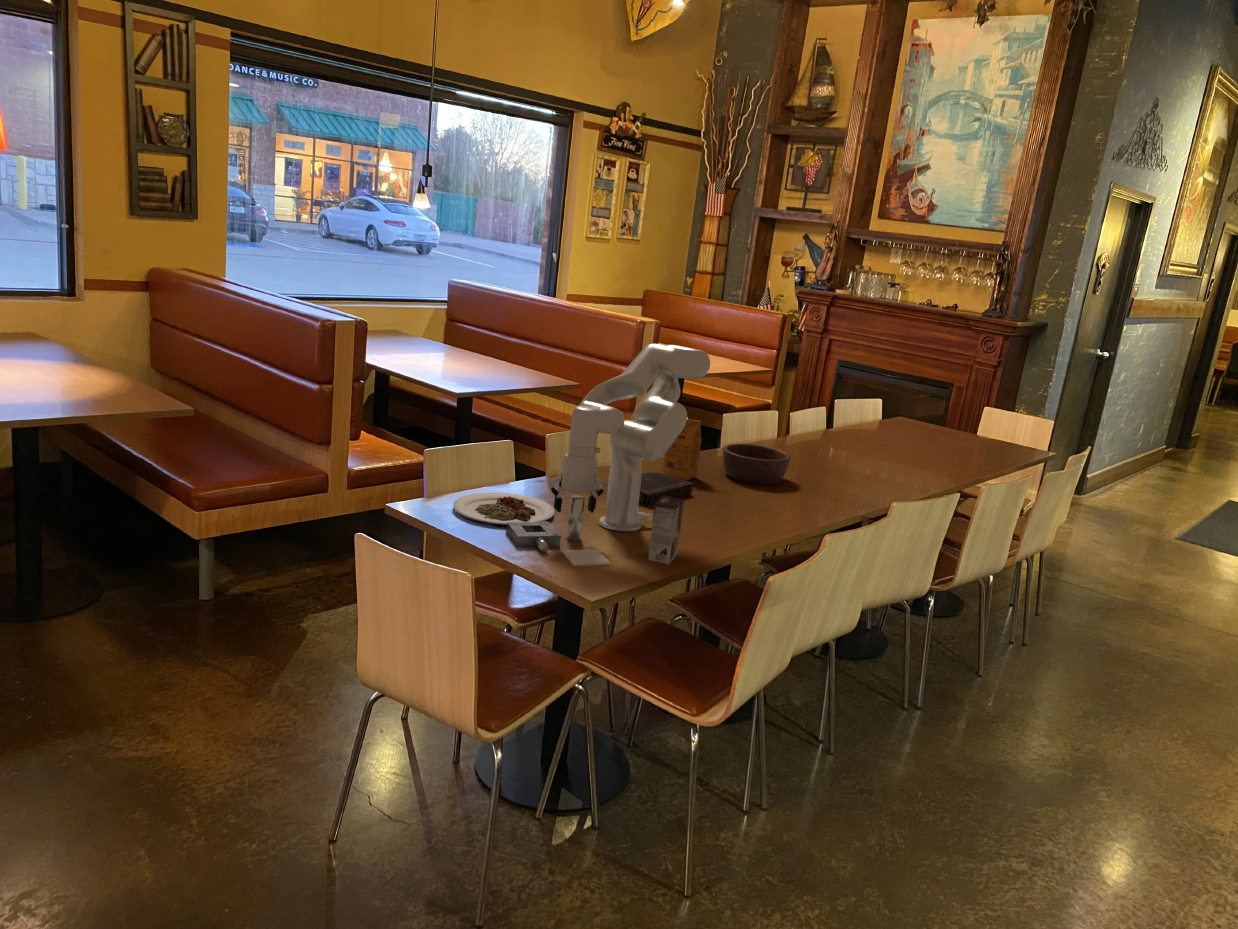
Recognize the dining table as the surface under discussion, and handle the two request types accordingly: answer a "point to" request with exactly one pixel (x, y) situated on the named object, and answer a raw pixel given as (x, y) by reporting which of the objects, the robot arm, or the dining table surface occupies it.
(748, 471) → the wooden bowl
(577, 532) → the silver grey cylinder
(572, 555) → the pad
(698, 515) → the dining table surface
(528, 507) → the plated food
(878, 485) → the dining table surface
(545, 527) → the chuck block
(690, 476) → the coffee package
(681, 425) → the robot arm
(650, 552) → the coffee box
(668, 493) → the diary
